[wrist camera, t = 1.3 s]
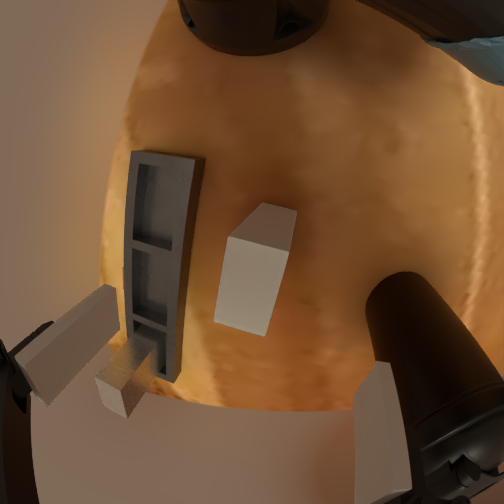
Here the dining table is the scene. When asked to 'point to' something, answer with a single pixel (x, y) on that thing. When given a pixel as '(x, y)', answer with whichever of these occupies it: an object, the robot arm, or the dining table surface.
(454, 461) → the water bottle
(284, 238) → the block
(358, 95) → the dining table surface
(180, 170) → the rack
